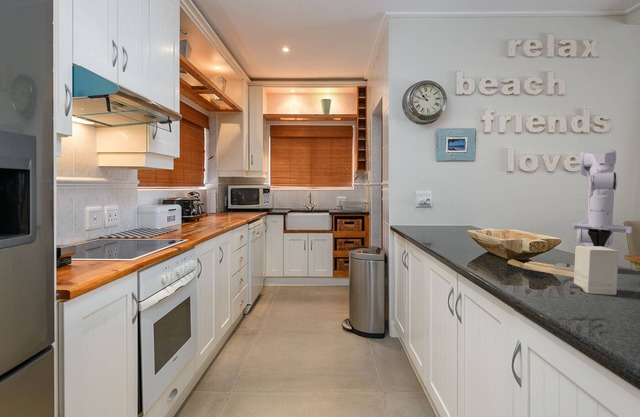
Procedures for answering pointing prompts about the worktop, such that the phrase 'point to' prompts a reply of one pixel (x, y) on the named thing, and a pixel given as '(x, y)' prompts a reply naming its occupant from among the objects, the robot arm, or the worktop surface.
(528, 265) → the board
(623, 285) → the worktop surface
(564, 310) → the worktop surface
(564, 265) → the lever cap
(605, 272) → the supplement box
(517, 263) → the lever
